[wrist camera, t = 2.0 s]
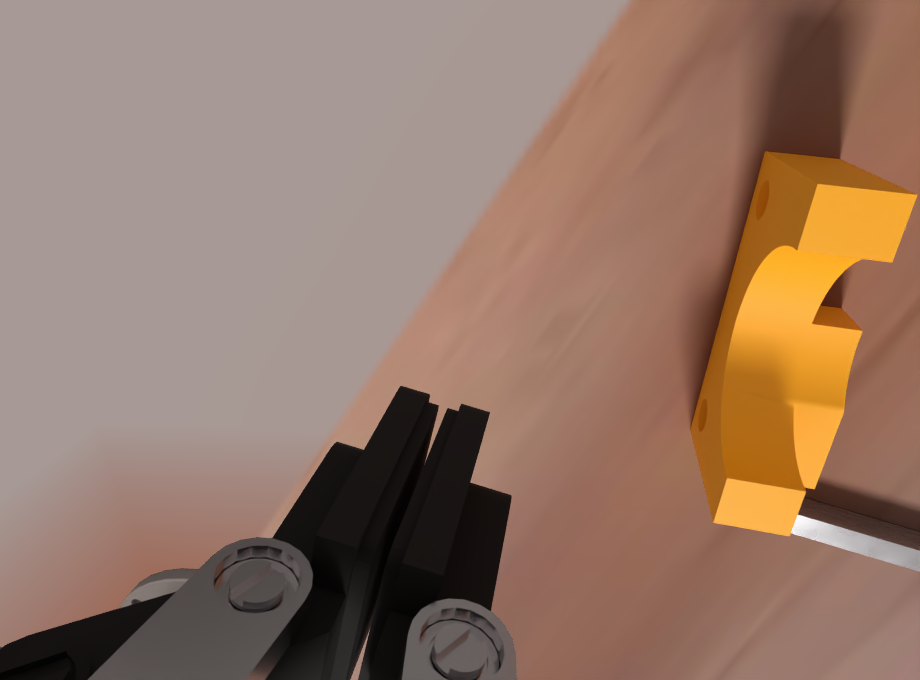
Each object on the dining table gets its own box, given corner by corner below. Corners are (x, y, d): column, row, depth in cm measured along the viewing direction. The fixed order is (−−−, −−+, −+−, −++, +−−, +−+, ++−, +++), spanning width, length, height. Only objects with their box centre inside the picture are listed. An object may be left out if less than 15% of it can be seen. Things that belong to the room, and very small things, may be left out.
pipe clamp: (792, 444, 28) (842, 545, 23) (689, 427, 29) (713, 522, 23) (890, 163, 23) (987, 202, 18) (763, 150, 24) (817, 184, 18)
